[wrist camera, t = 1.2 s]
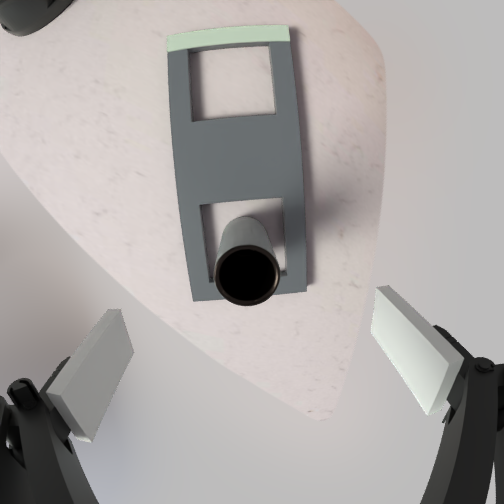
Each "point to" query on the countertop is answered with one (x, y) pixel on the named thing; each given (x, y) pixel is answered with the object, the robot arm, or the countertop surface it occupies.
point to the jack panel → (237, 152)
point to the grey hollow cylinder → (246, 263)
